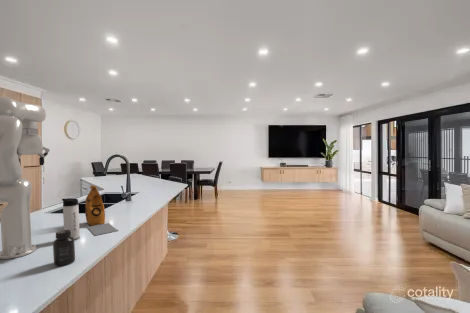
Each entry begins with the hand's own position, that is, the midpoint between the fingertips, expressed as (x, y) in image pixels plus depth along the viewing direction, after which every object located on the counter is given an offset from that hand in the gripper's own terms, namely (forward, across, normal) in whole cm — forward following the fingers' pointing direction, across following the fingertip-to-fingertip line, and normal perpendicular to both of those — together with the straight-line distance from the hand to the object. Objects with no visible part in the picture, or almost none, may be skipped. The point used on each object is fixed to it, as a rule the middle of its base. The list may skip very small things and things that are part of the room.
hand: (30, 165), depth 132 cm
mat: (+35, +23, -24) cm, 49 cm away
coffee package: (+36, +27, -9) cm, 46 cm away
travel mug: (+35, +6, -27) cm, 45 cm away
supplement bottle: (+35, -8, -53) cm, 64 cm away
